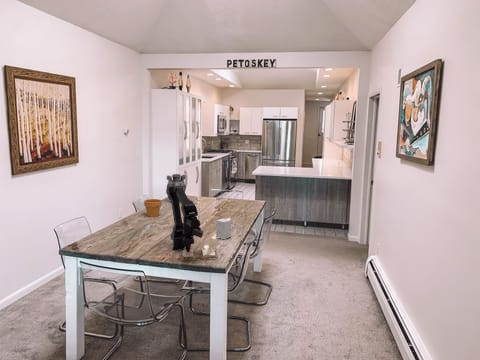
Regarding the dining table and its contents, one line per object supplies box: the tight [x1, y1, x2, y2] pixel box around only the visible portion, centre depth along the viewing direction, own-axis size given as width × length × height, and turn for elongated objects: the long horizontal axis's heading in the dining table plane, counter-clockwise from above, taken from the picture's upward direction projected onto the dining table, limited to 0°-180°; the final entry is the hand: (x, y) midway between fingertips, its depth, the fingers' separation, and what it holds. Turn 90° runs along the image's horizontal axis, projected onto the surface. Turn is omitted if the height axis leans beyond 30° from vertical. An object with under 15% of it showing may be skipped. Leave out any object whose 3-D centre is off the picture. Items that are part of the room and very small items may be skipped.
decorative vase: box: [166, 173, 187, 202], centre depth 351 cm, size 21×19×28 cm
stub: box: [182, 245, 194, 258], centre depth 203 cm, size 6×9×6 cm, turn 9°
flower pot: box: [143, 198, 163, 218], centre depth 294 cm, size 14×14×13 cm
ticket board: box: [184, 249, 218, 261], centre depth 205 cm, size 18×12×2 cm, turn 99°
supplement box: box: [215, 218, 232, 239], centre depth 240 cm, size 7×7×13 cm
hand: (188, 251), depth 204 cm, fingers closed on stub, 3 cm apart
